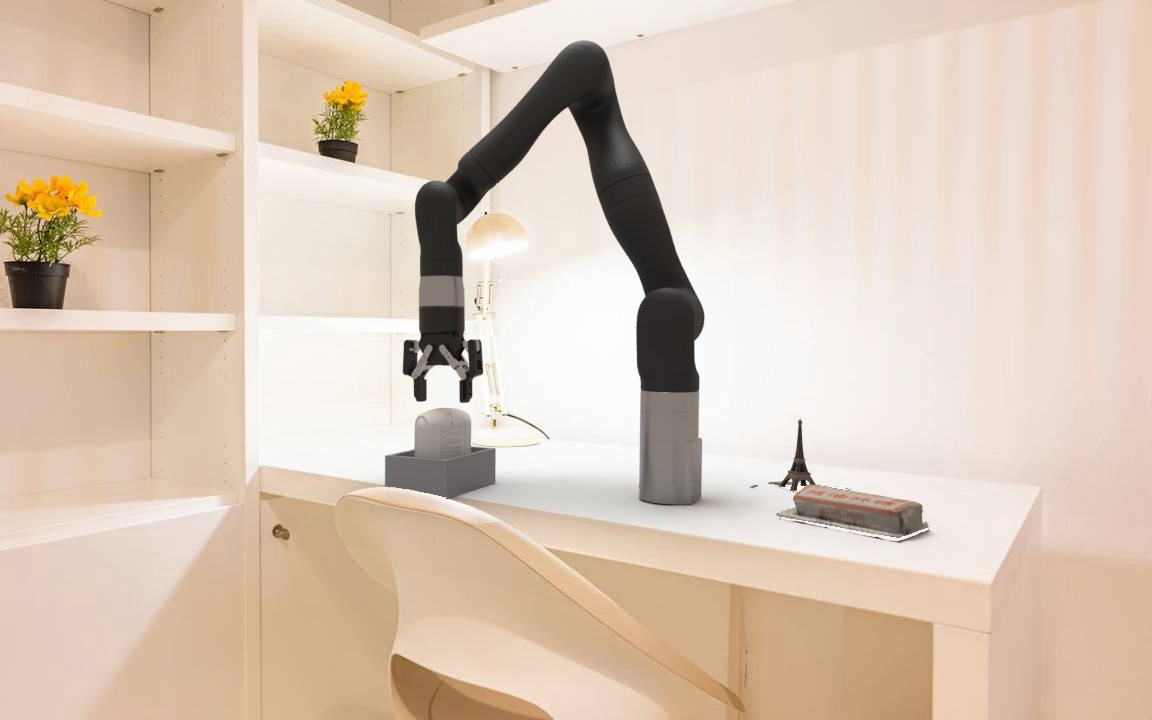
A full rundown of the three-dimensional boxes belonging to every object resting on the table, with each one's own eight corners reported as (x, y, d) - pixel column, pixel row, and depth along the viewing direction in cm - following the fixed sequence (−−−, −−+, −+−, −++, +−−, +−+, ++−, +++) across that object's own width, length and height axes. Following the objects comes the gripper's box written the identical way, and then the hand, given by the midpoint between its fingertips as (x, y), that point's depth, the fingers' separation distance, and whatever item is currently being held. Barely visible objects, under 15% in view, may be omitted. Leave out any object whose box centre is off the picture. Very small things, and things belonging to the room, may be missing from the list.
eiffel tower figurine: (853, 491, 138) (854, 414, 138) (837, 501, 130) (838, 419, 129) (768, 482, 146) (769, 409, 146) (748, 491, 138) (749, 413, 137)
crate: (495, 482, 140) (495, 448, 140) (445, 499, 126) (446, 460, 125) (438, 477, 144) (439, 443, 144) (384, 492, 130) (385, 455, 130)
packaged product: (932, 498, 109) (899, 509, 102) (931, 533, 109) (898, 547, 102) (812, 479, 122) (775, 487, 115) (811, 511, 122) (775, 521, 115)
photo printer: (458, 476, 140) (458, 405, 140) (474, 479, 137) (475, 407, 137) (409, 483, 133) (410, 409, 132) (426, 487, 130) (426, 410, 129)
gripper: (490, 304, 134) (491, 401, 135) (418, 306, 140) (419, 399, 141) (466, 302, 128) (467, 405, 128) (392, 304, 133) (393, 402, 134)
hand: (442, 402), depth 134 cm, fingers open, 8 cm apart
